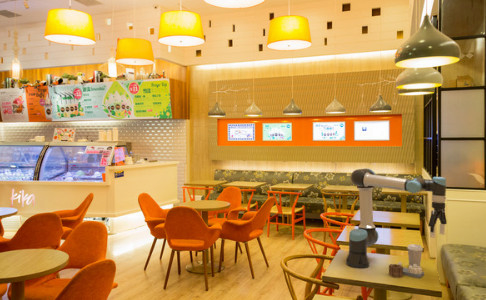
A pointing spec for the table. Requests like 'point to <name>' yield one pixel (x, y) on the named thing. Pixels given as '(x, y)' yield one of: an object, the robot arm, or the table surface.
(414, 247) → the coffee cup
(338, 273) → the table surface
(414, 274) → the gear board
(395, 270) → the walnut gear
